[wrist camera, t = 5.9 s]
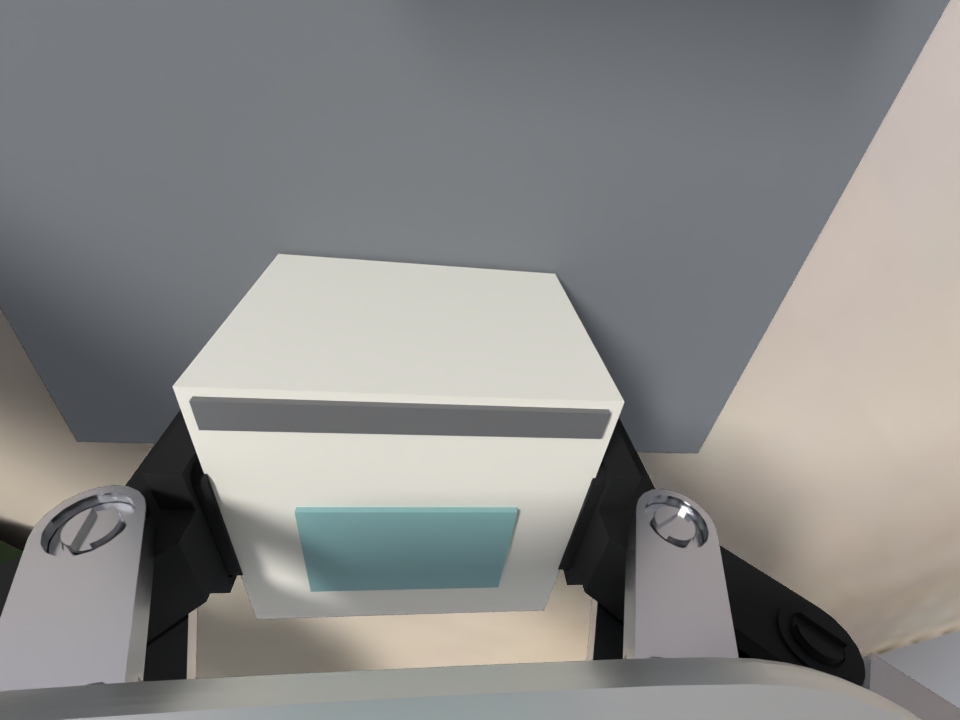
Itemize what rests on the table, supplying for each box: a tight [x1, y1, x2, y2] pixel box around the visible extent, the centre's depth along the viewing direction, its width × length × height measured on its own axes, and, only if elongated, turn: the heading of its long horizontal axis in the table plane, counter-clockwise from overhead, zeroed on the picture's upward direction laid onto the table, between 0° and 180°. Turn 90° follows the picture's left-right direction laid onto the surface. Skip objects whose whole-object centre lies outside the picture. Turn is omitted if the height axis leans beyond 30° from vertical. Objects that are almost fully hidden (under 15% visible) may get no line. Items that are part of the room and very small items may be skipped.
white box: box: [172, 254, 624, 619], centre depth 9 cm, size 6×6×5 cm
